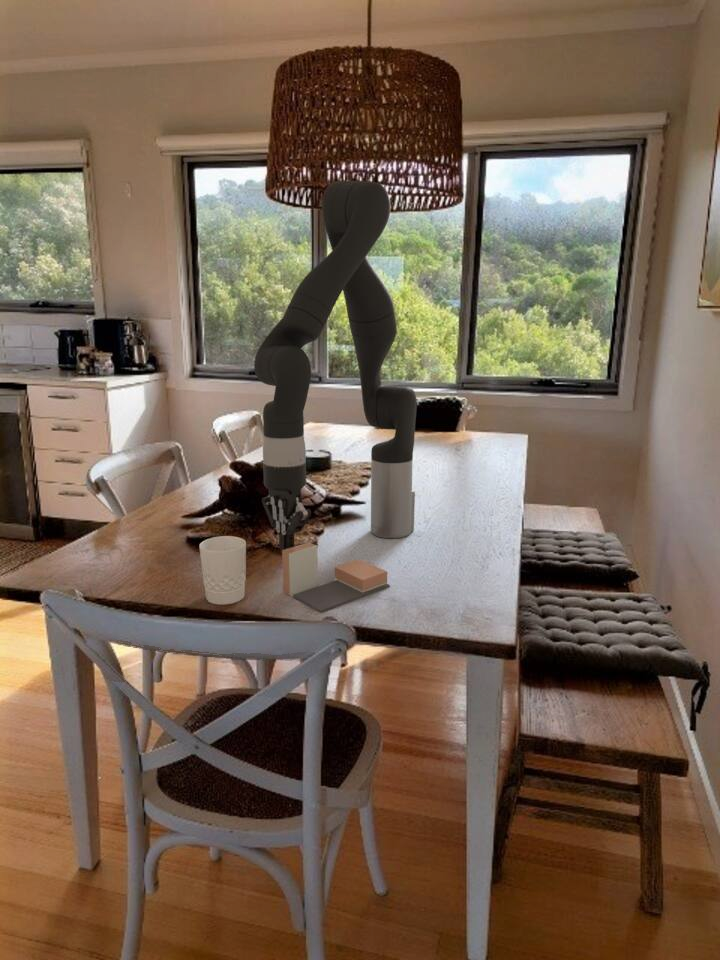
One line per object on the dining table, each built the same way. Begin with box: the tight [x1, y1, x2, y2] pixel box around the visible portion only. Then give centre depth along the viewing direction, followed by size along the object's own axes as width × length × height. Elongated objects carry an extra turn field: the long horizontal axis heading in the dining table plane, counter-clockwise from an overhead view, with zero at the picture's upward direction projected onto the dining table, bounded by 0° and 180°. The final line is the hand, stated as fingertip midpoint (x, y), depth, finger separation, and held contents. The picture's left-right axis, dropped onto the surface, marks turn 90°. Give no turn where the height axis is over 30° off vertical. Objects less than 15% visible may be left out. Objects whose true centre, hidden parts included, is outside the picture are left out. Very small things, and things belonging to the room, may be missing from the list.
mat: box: [292, 579, 391, 614], centre depth 115 cm, size 16×8×1 cm, turn 131°
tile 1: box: [281, 542, 319, 597], centre depth 115 cm, size 6×2×8 cm, turn 131°
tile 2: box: [333, 558, 388, 593], centre depth 118 cm, size 6×2×8 cm
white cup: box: [199, 535, 247, 606], centre depth 111 cm, size 8×8×10 cm
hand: (286, 551), depth 117 cm, fingers closed
